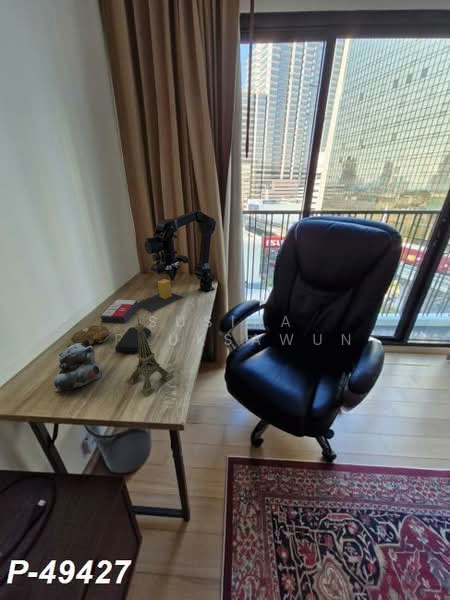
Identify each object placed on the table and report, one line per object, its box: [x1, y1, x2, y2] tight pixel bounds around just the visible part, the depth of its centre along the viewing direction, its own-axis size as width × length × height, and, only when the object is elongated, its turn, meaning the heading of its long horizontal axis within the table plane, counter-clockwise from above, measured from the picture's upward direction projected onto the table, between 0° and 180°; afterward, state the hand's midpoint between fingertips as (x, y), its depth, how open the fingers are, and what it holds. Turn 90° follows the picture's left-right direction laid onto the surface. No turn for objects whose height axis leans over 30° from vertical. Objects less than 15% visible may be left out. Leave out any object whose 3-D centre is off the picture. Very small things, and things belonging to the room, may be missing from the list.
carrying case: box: [114, 326, 152, 354], centre depth 99 cm, size 11×3×15 cm
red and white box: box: [100, 299, 139, 324], centre depth 119 cm, size 11×4×15 cm
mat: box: [138, 292, 184, 313], centre depth 130 cm, size 20×14×1 cm
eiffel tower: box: [127, 315, 175, 397], centre depth 76 cm, size 11×11×25 cm
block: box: [157, 278, 173, 299], centre depth 132 cm, size 4×4×9 cm
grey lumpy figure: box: [53, 340, 103, 393], centre depth 80 cm, size 15×12×14 cm
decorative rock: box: [70, 324, 111, 345], centre depth 102 cm, size 11×4×15 cm
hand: (172, 280), depth 122 cm, fingers closed
